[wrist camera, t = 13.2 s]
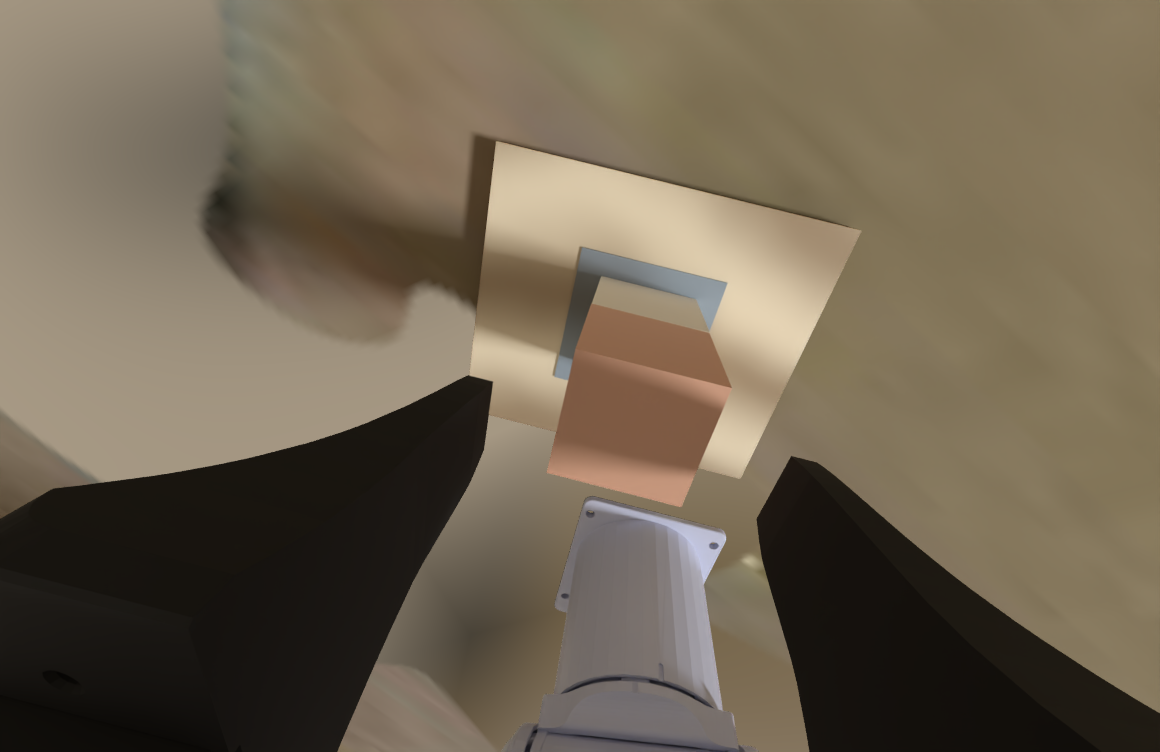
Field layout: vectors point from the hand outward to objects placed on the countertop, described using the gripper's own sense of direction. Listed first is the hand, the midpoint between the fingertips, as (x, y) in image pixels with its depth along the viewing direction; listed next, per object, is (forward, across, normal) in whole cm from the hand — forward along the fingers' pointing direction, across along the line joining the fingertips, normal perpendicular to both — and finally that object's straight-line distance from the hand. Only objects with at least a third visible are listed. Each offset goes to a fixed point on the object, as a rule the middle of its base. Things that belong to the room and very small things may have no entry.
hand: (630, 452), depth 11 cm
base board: (+10, 0, 0) cm, 10 cm away
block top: (+5, 0, 0) cm, 5 cm away
